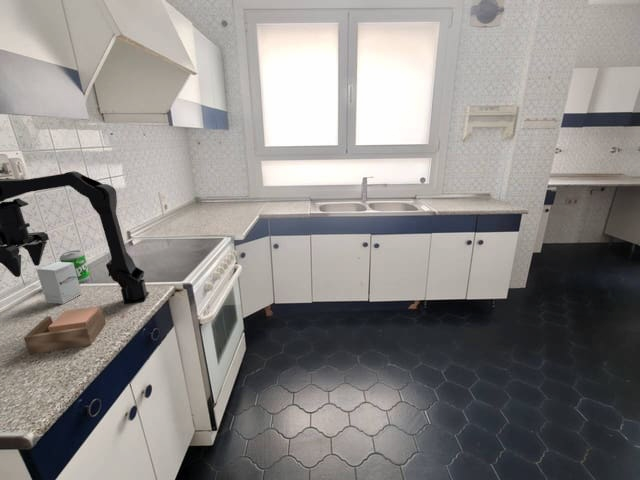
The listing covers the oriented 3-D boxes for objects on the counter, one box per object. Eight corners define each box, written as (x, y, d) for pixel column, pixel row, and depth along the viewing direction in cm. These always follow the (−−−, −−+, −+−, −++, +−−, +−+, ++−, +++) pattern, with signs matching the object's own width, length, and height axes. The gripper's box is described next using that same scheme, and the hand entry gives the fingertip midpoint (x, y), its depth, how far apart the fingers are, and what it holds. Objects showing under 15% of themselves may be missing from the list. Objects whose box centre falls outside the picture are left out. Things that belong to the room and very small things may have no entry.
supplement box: (63, 304, 105) (52, 270, 101) (45, 302, 106) (34, 269, 102) (83, 294, 112) (74, 262, 108) (66, 293, 113) (57, 261, 109)
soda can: (64, 286, 119) (55, 257, 115) (70, 279, 125) (62, 251, 121) (87, 282, 121) (80, 254, 118) (92, 275, 128) (85, 248, 124)
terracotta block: (102, 319, 96) (98, 306, 95) (89, 335, 88) (85, 321, 86) (68, 323, 94) (64, 310, 92) (52, 341, 86) (47, 327, 84)
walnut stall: (106, 323, 93) (102, 309, 91) (91, 344, 83) (86, 328, 82) (51, 331, 89) (46, 316, 88) (29, 354, 80) (23, 337, 78)
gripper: (2, 217, 98) (17, 262, 103) (-50, 233, 81) (-28, 286, 86) (42, 215, 101) (56, 259, 105) (1, 229, 83) (19, 282, 88)
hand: (27, 270), depth 96 cm, fingers open, 9 cm apart
